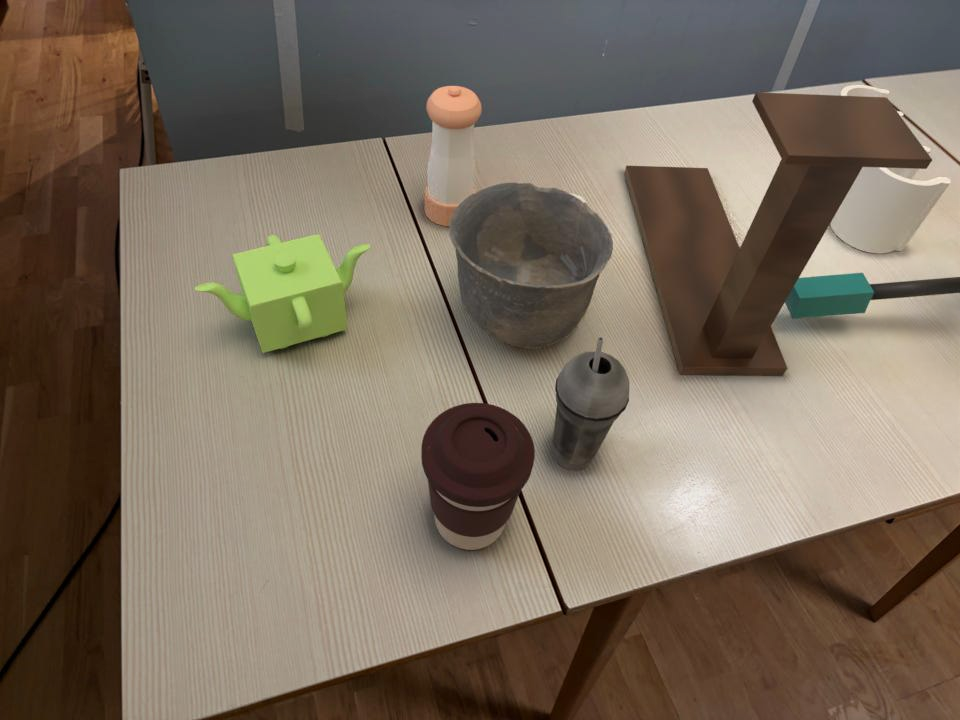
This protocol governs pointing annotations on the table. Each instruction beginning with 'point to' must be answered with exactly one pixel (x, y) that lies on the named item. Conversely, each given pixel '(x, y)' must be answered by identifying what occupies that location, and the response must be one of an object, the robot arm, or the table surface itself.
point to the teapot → (290, 290)
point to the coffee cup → (475, 471)
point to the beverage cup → (587, 405)
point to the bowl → (528, 261)
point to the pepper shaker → (450, 151)
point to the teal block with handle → (856, 293)
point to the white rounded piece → (884, 200)
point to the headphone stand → (758, 227)
